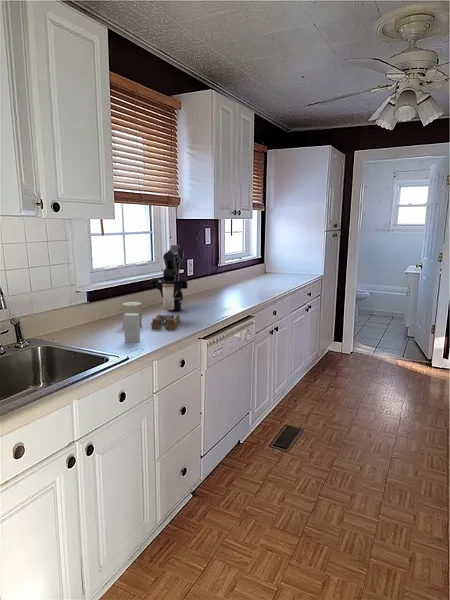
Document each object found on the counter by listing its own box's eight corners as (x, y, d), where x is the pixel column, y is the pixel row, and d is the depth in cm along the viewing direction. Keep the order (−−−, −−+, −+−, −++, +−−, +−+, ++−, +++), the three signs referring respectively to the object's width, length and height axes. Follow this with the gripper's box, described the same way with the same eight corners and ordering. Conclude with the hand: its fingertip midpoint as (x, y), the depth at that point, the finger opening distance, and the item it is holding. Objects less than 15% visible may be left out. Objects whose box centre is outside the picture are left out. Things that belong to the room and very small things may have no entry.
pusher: (158, 323, 210) (158, 314, 210) (174, 323, 210) (174, 315, 210) (155, 327, 203) (155, 318, 202) (172, 327, 203) (172, 318, 202)
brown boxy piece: (158, 319, 220) (158, 310, 219) (179, 319, 220) (179, 310, 219) (151, 329, 200) (151, 319, 199) (175, 329, 200) (175, 319, 199)
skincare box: (140, 339, 184) (139, 313, 181) (138, 342, 179) (137, 315, 177) (126, 339, 183) (125, 313, 181) (124, 342, 179) (123, 315, 177)
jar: (160, 309, 214) (159, 284, 211) (168, 307, 219) (168, 282, 216) (168, 310, 211) (168, 285, 208) (176, 308, 215) (176, 284, 213)
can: (123, 329, 200) (122, 304, 198) (122, 324, 209) (121, 301, 206) (142, 328, 202) (142, 304, 200) (141, 323, 211) (140, 300, 209)
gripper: (150, 262, 214) (147, 287, 205) (187, 263, 214) (185, 288, 205) (153, 275, 223) (150, 300, 214) (188, 276, 223) (186, 300, 215)
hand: (168, 296), depth 212 cm, fingers closed on jar, 6 cm apart
